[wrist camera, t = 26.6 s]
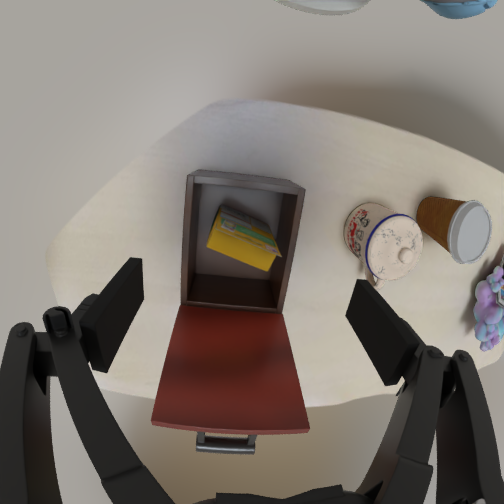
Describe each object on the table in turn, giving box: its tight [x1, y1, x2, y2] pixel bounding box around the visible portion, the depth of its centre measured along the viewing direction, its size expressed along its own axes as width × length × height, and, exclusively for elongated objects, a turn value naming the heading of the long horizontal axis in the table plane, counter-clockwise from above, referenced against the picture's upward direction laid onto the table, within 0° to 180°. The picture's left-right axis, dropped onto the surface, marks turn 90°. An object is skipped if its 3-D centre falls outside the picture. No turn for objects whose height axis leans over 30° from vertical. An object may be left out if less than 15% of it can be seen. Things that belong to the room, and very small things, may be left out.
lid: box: [151, 305, 310, 454], centre depth 27 cm, size 16×13×9 cm
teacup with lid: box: [344, 203, 423, 290], centre depth 35 cm, size 12×9×12 cm
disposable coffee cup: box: [417, 197, 492, 264], centre depth 34 cm, size 10×10×12 cm
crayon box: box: [206, 204, 282, 271], centre depth 32 cm, size 7×3×12 cm, turn 65°
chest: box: [181, 170, 305, 314], centre depth 35 cm, size 16×13×9 cm
